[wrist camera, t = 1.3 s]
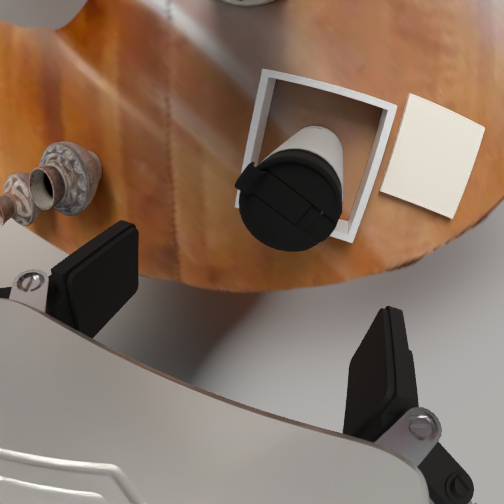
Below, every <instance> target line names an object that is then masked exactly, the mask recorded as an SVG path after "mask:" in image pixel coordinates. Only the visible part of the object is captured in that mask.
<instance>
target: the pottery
mask: <svg viewBox="0 0 504 504" xmlns="http://www.w3.org/2000/svg"><path fill="white" fill-rule="evenodd" d="M101 174H102V166H101V162H100V160H99V158H98V156H97V155H96V154H95V153H93V152H91V151H87V150H86V149H85V148H84V147H82V146H81V145H79V144H77V143H73V142H56V143H53V144H51V145H49V146H48V147H47V148H46V149H45V151H44V153H43V155H42V157H41V161H40V166H39V167H37V168H35V169H33V170H32V172H31V173H30V174H29V173H12V174H10V175H9V176H8V177H7V179H6V182H5V185H4V190H3V196H1V197H0V227H1V226H3V225H4V223H5V222H6V221H7V220H9V219H10V218H11V217H12V218H13V219H14V220H15V221H16V222H17V223H19V224H21V225H23V226H29V225H30V224H32V223H33V222H34V221H35V220H36V219H37V217H38V216H39V215H40V213H41V211H42V210H49V209H51V208H53V207H54V208H55V209H56V210H57V211H58V212H60V213H62V214H64V215H68V216H73V215H77V214H79V213H80V212H82V211H83V210H84V209H85V208H86V207H87V206H88V205H89V204H90V202H91V201H92V199H93V197H94V195H95V193H96V190H97V187H98V182H99V180H100V178H101Z"/></svg>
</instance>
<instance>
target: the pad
mask: <svg viewBox="0 0 504 504" xmlns="http://www.w3.org/2000/svg"><path fill="white" fill-rule="evenodd" d="M484 130H485V127H483V126H481V125H479V124H477V123H475V122H473V121H471V120H469V119H467V118H465V117H463V116H461V115H459V114H457V113H455V112H453V111H451V110H448V109H446V108H444V107H442V106H440V105H437V104H435V103H433V102H430V101H428V100H426V99H423V98H421V97H418V96H416V95H414V94H411V93H408V96H407V99H406V103H405V107H404V111H403V114H402V118H401V121H400V125H399V128H398V132H397V135H396V138H395V142H394V145H393V148H392V151H391V154H390V158H389V161H388V164H387V167H386V170H385V173H384V176H383V179H382V182H381V185H380V188H379V190H380V191H381V192H384V193H387V194H389V195H392V196H395V197H398V198H400V199H403V200H406V201H408V202H411V203H414V204H416V205H419V206H422V207H424V208H427V209H429V210H432V211H434V212H437V213H439V214H442V215H444V216H446V217H449V218H451V219H453V217H454V214H455V212H456V210H457V207H458V205H459V202H460V200H461V197H462V195H463V192H464V190H465V187H466V184H467V182H468V179H469V176H470V173H471V171H472V168H473V165H474V162H475V159H476V156H477V153H478V150H479V147H480V144H481V140H482V137H483V134H484Z"/></svg>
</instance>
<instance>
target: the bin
mask: <svg viewBox="0 0 504 504" xmlns="http://www.w3.org/2000/svg"><path fill="white" fill-rule="evenodd" d="M276 79H279V80H284V81H288V82H293V83H297V84H301V85H305V86H309V87H313V88H317V89H321V90H325V91H328V92H332V93H335V94H339V95H342V96H346V97H349V98H352V99H355V100H359V101H362V102H365V103H368V104H371V105H374V106H377V107H380V108H383V111H382V115H381V118H380V122H379V125H378V129H377V132H376V136H375V139H374V143H373V146H372V149H371V153H370V156H369V159H368V162H367V166H366V169H365V172H364V175H363V178H362V181H361V184H360V188H359V191H358V194H357V197H356V200H355V203H354V205H353V208H352V211H351V214H350V217H349V220H348V221H345V220H342V219H339V220H338V223H337V226H336V228H335V229H334V231H333V232H332V233H331V235H330V236H331V237H334V238H338V239H341V240H344V241H347V242H350V243H353V240H354V238H355V235H356V232H357V230H358V227H359V224H360V222H361V219H362V216H363V213H364V211H365V208H366V205H367V202H368V199H369V196H370V193H371V190H372V187H373V185H374V182H375V179H376V175H377V172H378V169H379V166H380V163H381V160H382V157H383V154H384V150H385V147H386V144H387V141H388V137H389V134H390V130H391V127H392V123H393V120H394V116H395V113H396V109H397V105H395V104H392V103H389V102H386V101H383V100H381V99H378V98H375V97H372V96H369V95H366V94H363V93H359V92H356V91H353V90H350V89H346V88H343V87H339V86H336V85H332V84H329V83H325V82H321V81H317V80H313V79H309V78H305V77H301V76H297V75H292V74H288V73H283V72H278V71H273V70H268V69H263V68H262V73H261V78H260V82H259V87H258V92H257V96H256V101H255V106H254V111H253V116H252V121H251V125H250V130H249V135H248V140H247V145H246V150H245V155H244V161H243V166H242V171H241V174H242V172H243V171H244V169H245V168H246V167H247V165H248V164H250V163H251V162H254V163H255V164H254V165H253V166H255V167H256V166H257V165H258V160H259V156H260V151H261V146H262V142H263V137H264V132H265V128H266V123H267V119H268V114H269V109H270V105H271V100H272V96H273V91H274V86H275V82H276ZM239 194H240V190H238V192H237V197H236V202H235V207H236V208H239Z"/></svg>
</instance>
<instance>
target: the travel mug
mask: <svg viewBox="0 0 504 504" xmlns="http://www.w3.org/2000/svg"><path fill="white" fill-rule="evenodd" d="M254 164H255V163H254V162H251V163H250V164H248V165H247V167H246V168H245V169H244V171H243V172H242V174H241V175H240V177H239V178H238V180H237V182H236V184H235V187H236V188H237V189H238V190H240V194H239V210H240V214H241V217H242V220H243V222H244V224H245V226H246V227H247V229H248V230H249V231H250V232H251V234H252V235H253V236H254V237H255V238H257V239H258V240H259V241H260V242H262V243H264V244H265V245H267V246H269V247H272V248H275V249H277V250H282V251H295V252H297V251H303V250H307V249H309V248H311V247H313V246H315V245H317V244H318V243H319V242H322V241H324V240H325V239H326V238H327V237H328V236H330V235H331V233H332V232H333V231H334V229H335V228H336V226H337V223H338V220H339V218H340V215H341V213H342V202H343V148H342V144H341V142H340V140H339V138H338V137H337V135H336V134H335V133H334V132H332V131H331V130H329V129H328V128H325V127H323V126H307V127H305V128H302V129H301V130H299V131H298V132H297V133H295V134H294V135H293V136H292V137H290V138H289V139H288V140H287V141H285V142H284V143H283V144H282V145H281V146H279V147H278V148H277V149H276V150H274V151H273V152H272V153H271V154H270V155H268V156H267V157H266V158H265V159H264V160H263V161H262V162H261V163H260V164H259V165H258V166H256V167H255V166H253V165H254Z"/></svg>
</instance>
